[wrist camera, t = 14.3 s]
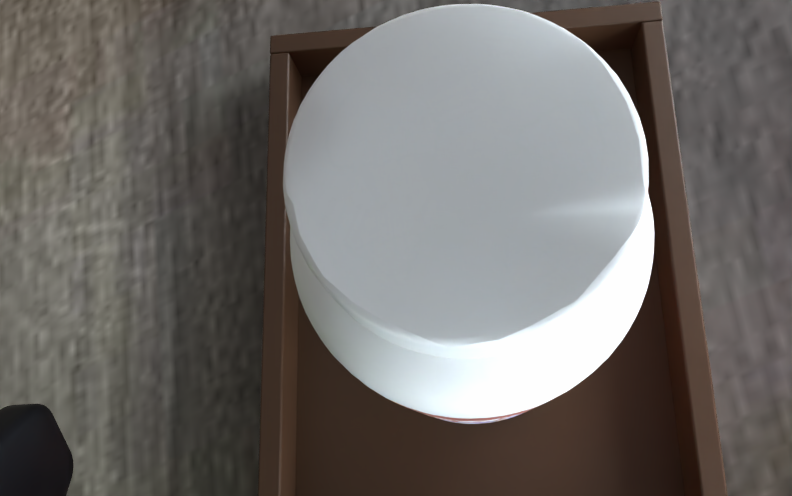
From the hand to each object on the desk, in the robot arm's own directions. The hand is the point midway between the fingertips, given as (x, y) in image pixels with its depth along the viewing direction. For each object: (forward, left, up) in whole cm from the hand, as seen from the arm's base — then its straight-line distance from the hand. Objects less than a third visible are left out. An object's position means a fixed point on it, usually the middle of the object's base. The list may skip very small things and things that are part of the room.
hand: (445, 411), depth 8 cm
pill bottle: (+3, 0, -12) cm, 12 cm away
